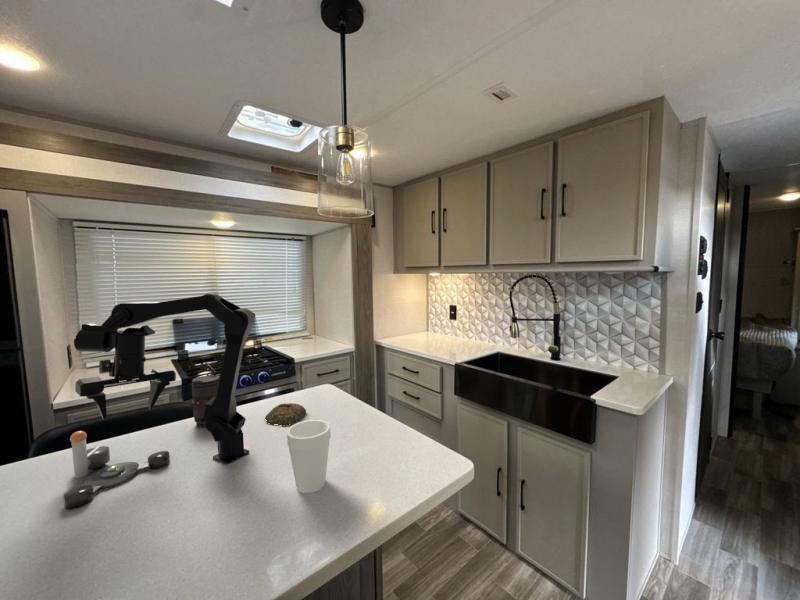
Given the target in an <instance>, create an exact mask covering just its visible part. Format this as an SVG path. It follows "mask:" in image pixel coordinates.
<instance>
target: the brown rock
mask: <svg viewBox="0 0 800 600" xmlns="http://www.w3.org/2000/svg"><path fill="white" fill-rule="evenodd" d="M305 412H306V413H307V409H306V408H305V407H304V406H303V405H301V404H298V403H295V402H294V403H292V402H291V403H280V404H278V405H276V406H275V407H273V408H272V409H271V410H269V412H268V413H267V414H266V415H265V417H264V420H265V419H266V420H267V421H265V423H266V422H267V423H270V424H278V425H277V426H279V425H289V424H291V425H293V424H295V423H297V422H299V421H300V420H301V419H302V418H303V417H304V416H305V414H306V413H305ZM298 420H299V421H298ZM296 421H297V422H296ZM294 422H295V423H294ZM267 423H266V424H267ZM292 423H293V424H292ZM270 424H269V425H270ZM289 426H290V425H289Z"/></svg>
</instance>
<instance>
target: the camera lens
mask: <svg viewBox="0 0 800 600" xmlns="http://www.w3.org/2000/svg"><path fill="white" fill-rule="evenodd" d="M219 379H220V376H218V375H203V376H199V377H196V378H193V379H192V383H191V394H192V395H191V396H192V404H191V405H192V407H193V409H192V410H193V411H192V413H193V419H194V422H195V423H196V426H197V427H198V426H200V427H199V428H205V425H204V422H205V420H203V421H202V419H203V418H204V415H205V406H206V404H207V403H208V402H209V401H210V400H211V399H212V398H213V397H216V394H217V389H218V384H219Z"/></svg>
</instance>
